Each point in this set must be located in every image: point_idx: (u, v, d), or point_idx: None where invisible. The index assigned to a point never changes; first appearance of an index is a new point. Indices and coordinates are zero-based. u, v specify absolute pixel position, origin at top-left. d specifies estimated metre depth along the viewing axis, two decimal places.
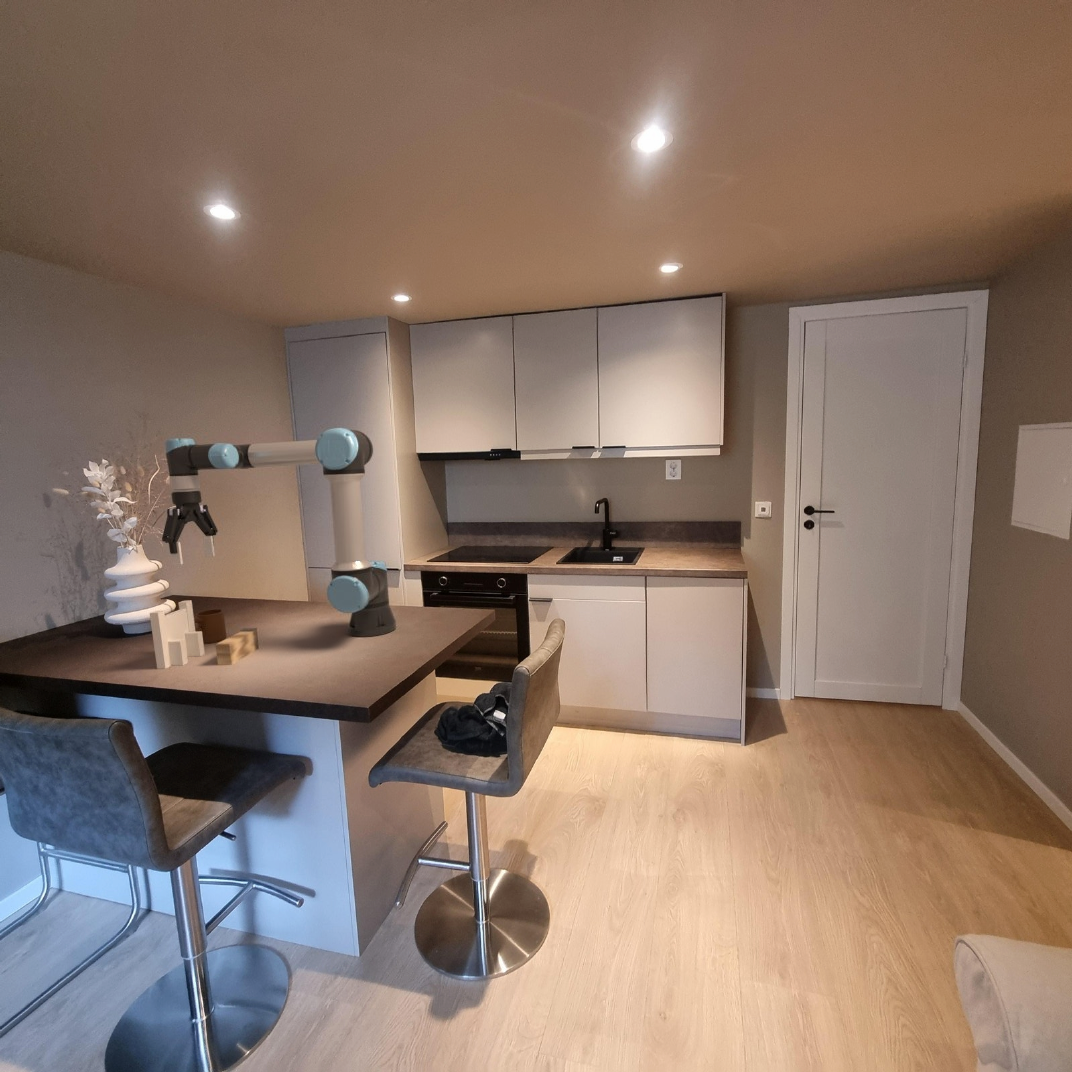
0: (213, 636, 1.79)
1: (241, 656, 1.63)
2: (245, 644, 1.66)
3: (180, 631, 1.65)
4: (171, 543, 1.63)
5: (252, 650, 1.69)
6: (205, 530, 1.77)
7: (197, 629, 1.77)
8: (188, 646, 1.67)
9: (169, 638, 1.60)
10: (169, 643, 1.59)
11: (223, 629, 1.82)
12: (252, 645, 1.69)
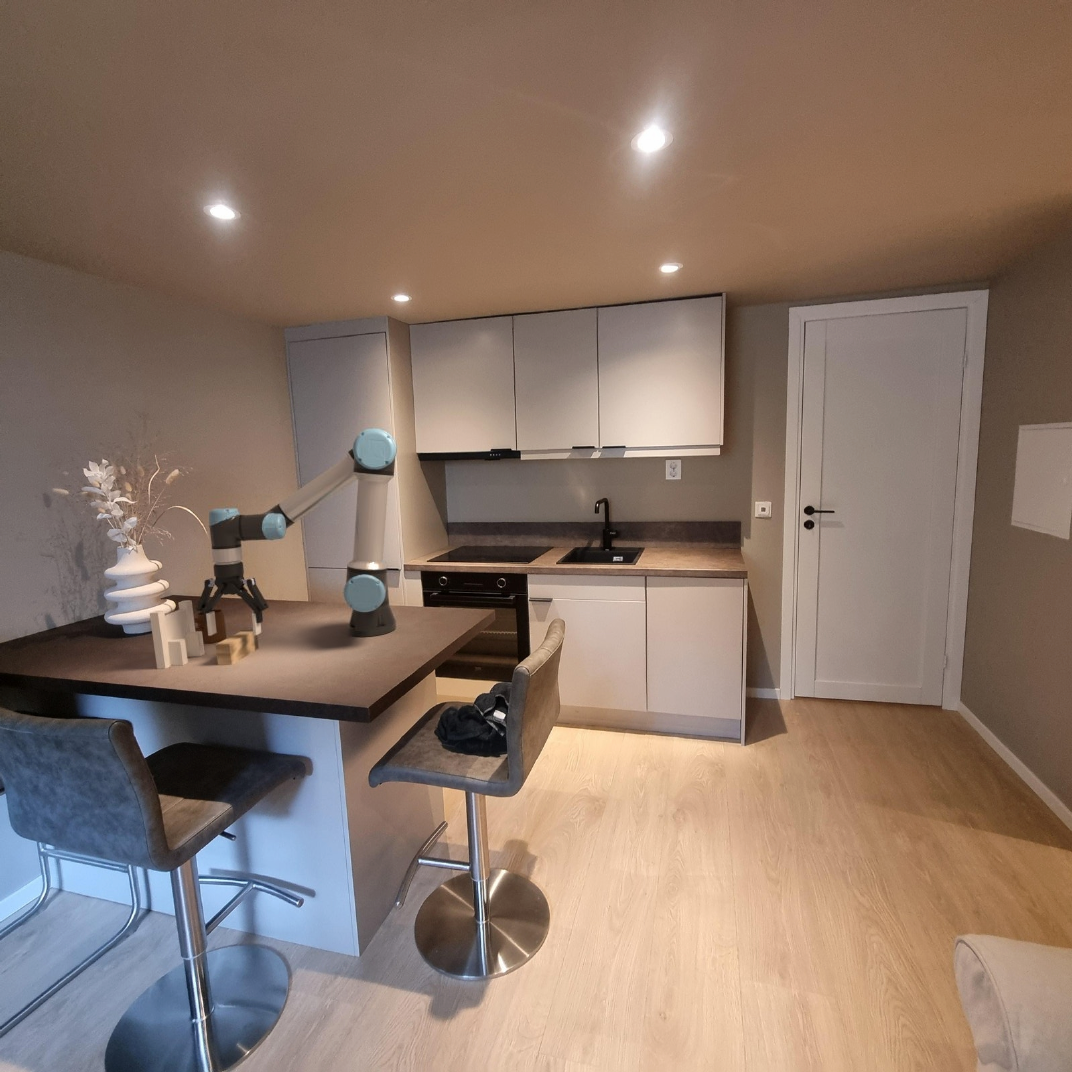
0: (213, 636, 1.79)
1: (241, 656, 1.63)
2: (245, 644, 1.66)
3: (180, 631, 1.65)
4: None
5: (252, 650, 1.69)
6: None
7: (197, 629, 1.77)
8: (188, 646, 1.67)
9: (169, 638, 1.60)
10: (169, 643, 1.59)
11: (223, 629, 1.82)
12: (252, 645, 1.69)
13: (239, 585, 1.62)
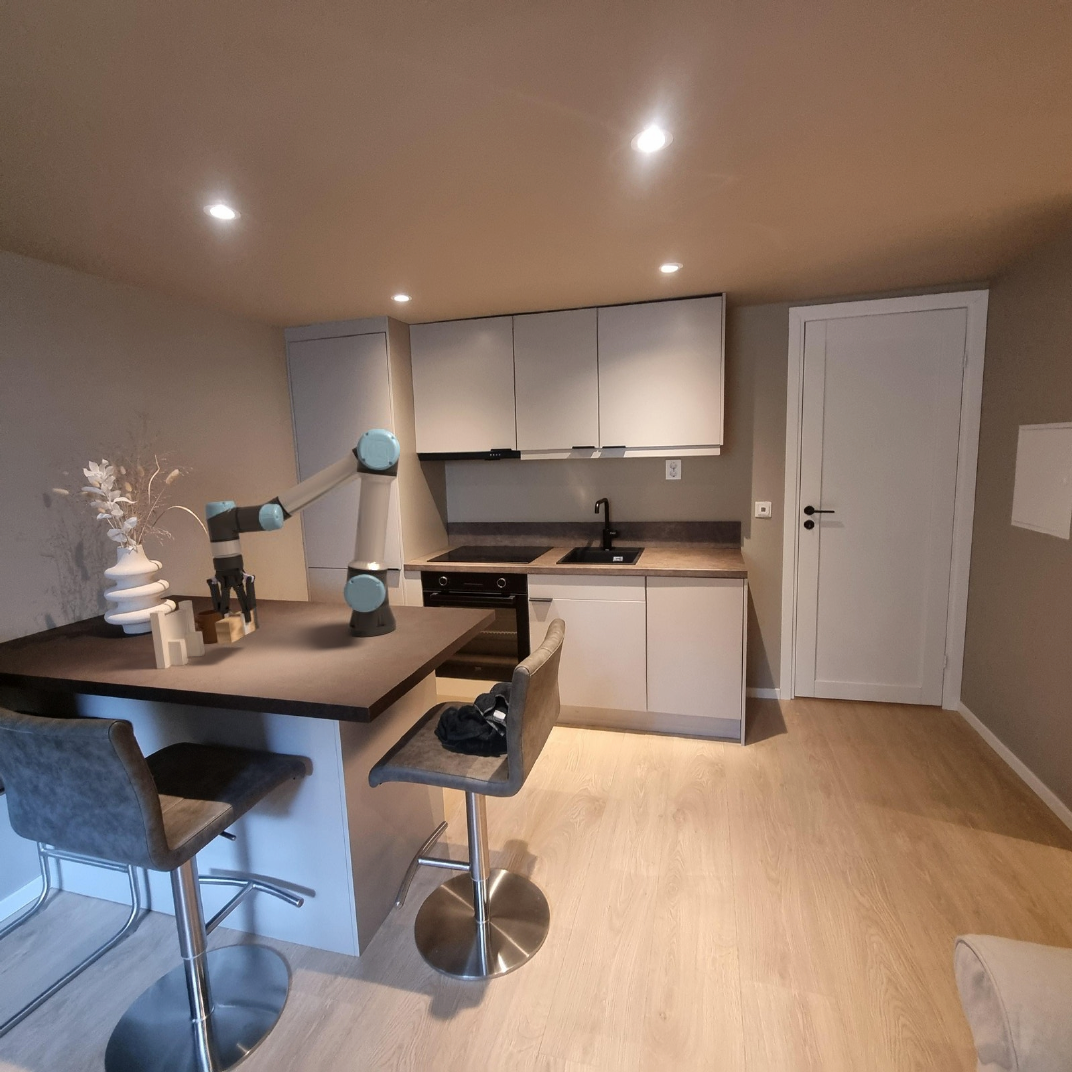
0: (213, 636, 1.79)
1: (241, 635, 1.63)
2: None
3: (180, 631, 1.65)
4: None
5: (252, 629, 1.68)
6: None
7: (197, 629, 1.77)
8: (188, 646, 1.67)
9: (169, 638, 1.60)
10: (169, 643, 1.59)
11: None
12: (252, 624, 1.68)
13: (239, 577, 1.61)
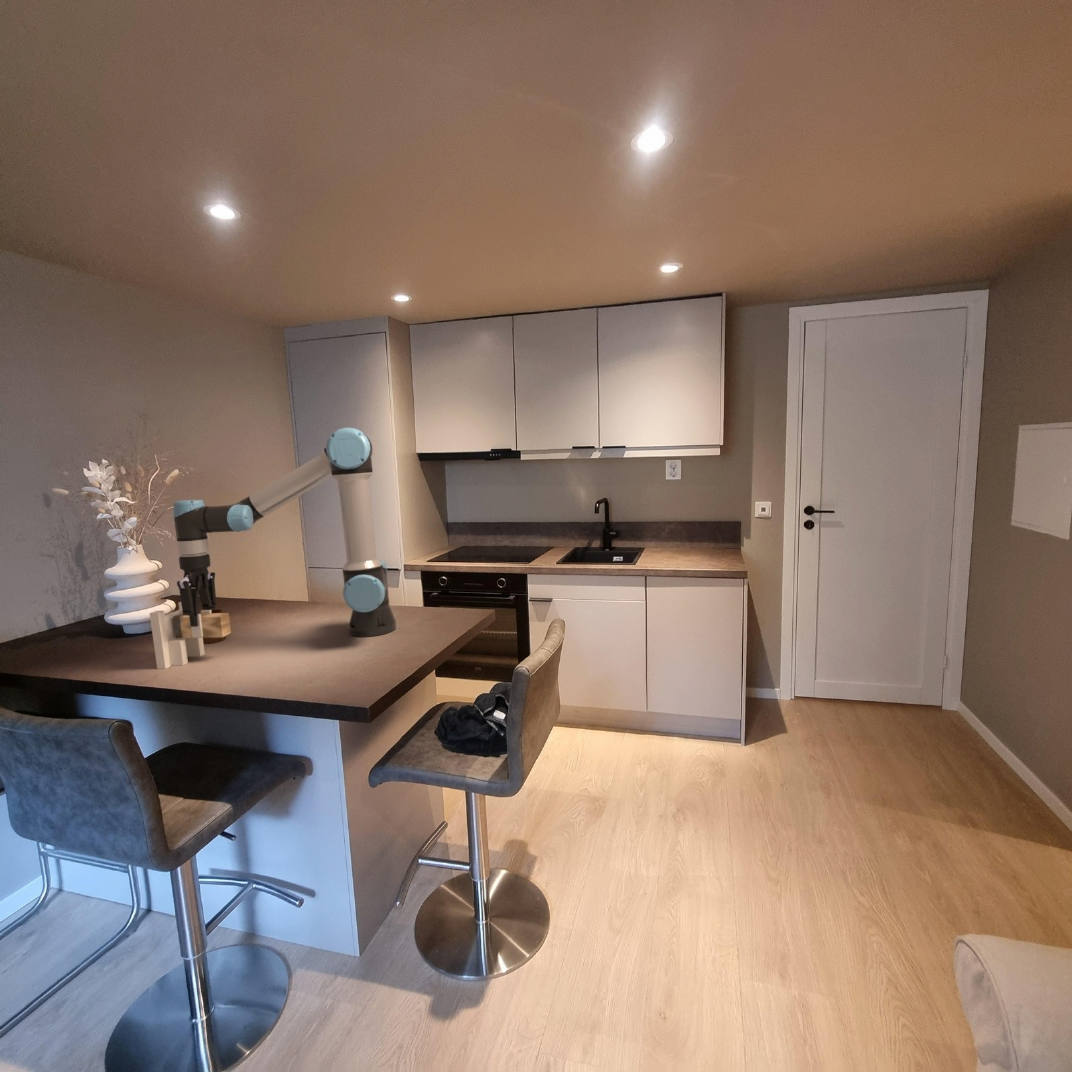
0: None
1: None
2: None
3: None
4: (192, 616, 1.58)
5: None
6: (205, 601, 1.64)
7: None
8: (188, 646, 1.67)
9: (169, 638, 1.60)
10: (169, 643, 1.59)
11: None
12: None
13: (207, 574, 1.64)
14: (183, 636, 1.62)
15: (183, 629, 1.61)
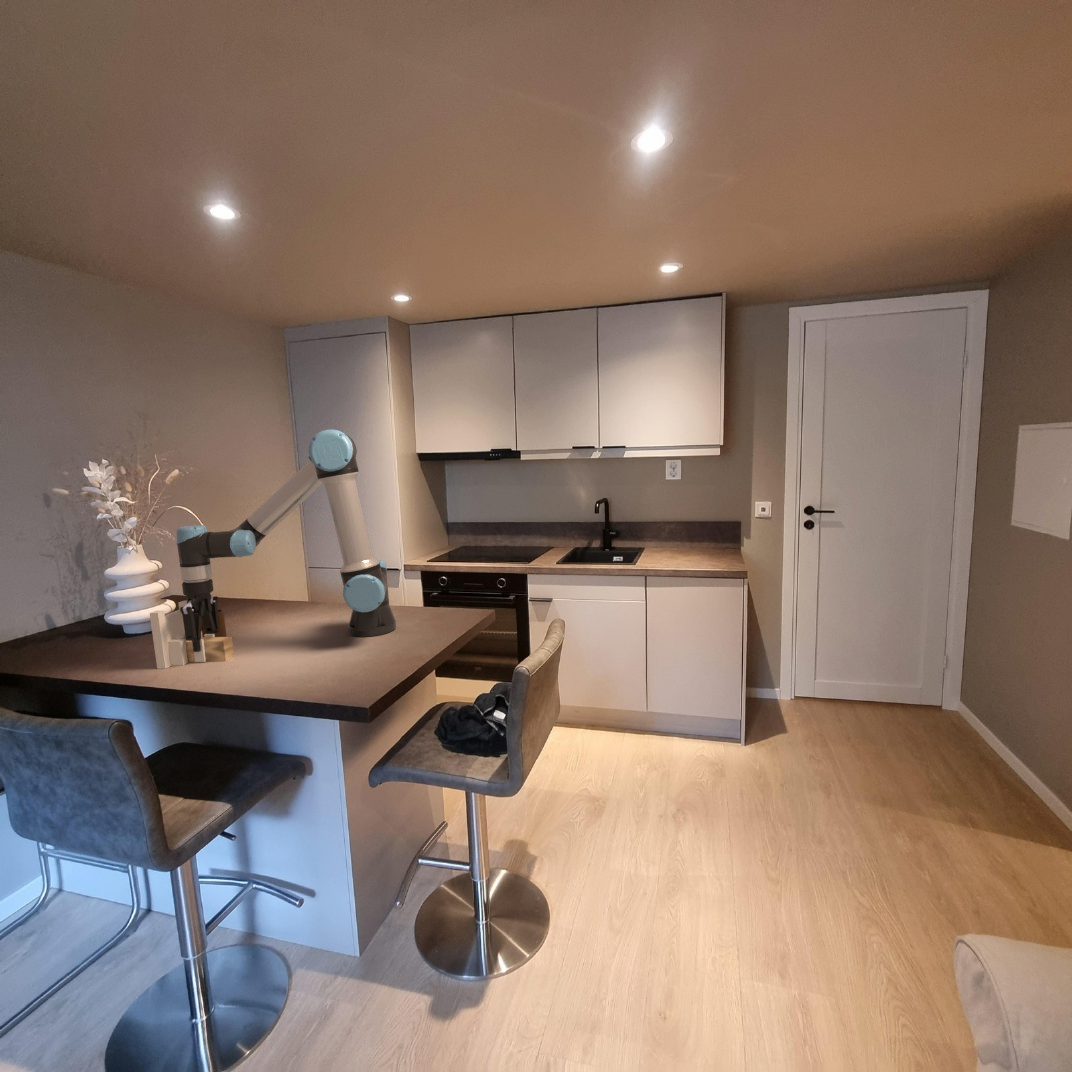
0: None
1: None
2: None
3: (180, 631, 1.65)
4: (195, 641, 1.59)
5: None
6: (208, 625, 1.65)
7: None
8: None
9: (169, 638, 1.60)
10: (169, 643, 1.59)
11: (223, 629, 1.82)
12: None
13: (210, 599, 1.65)
14: None
15: (187, 653, 1.62)
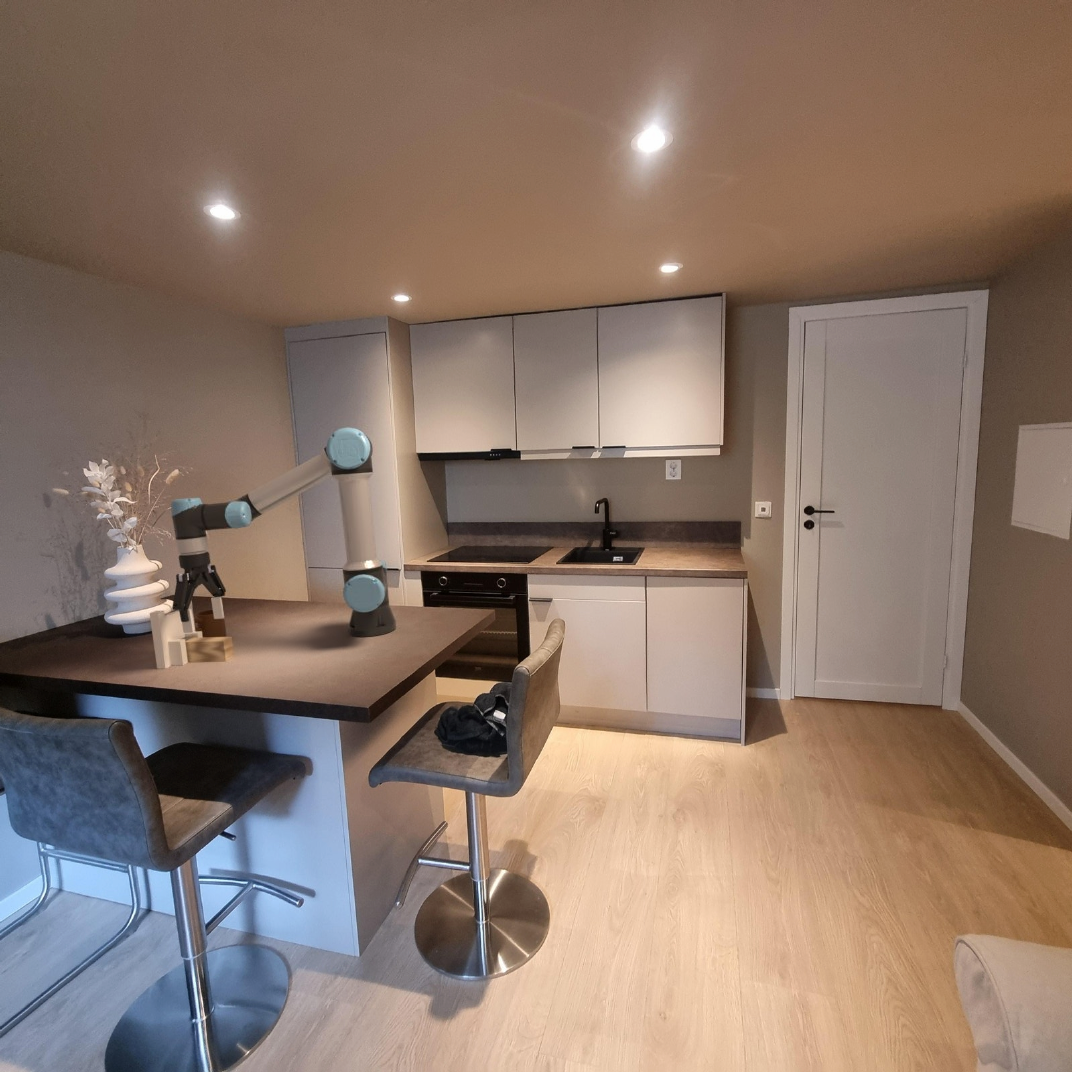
0: (213, 636, 1.79)
1: None
2: None
3: (180, 631, 1.65)
4: (182, 611, 1.54)
5: None
6: (213, 591, 1.68)
7: (197, 629, 1.77)
8: None
9: (169, 638, 1.60)
10: (169, 643, 1.59)
11: (223, 629, 1.82)
12: None
13: (208, 572, 1.64)
14: None
15: (187, 653, 1.62)
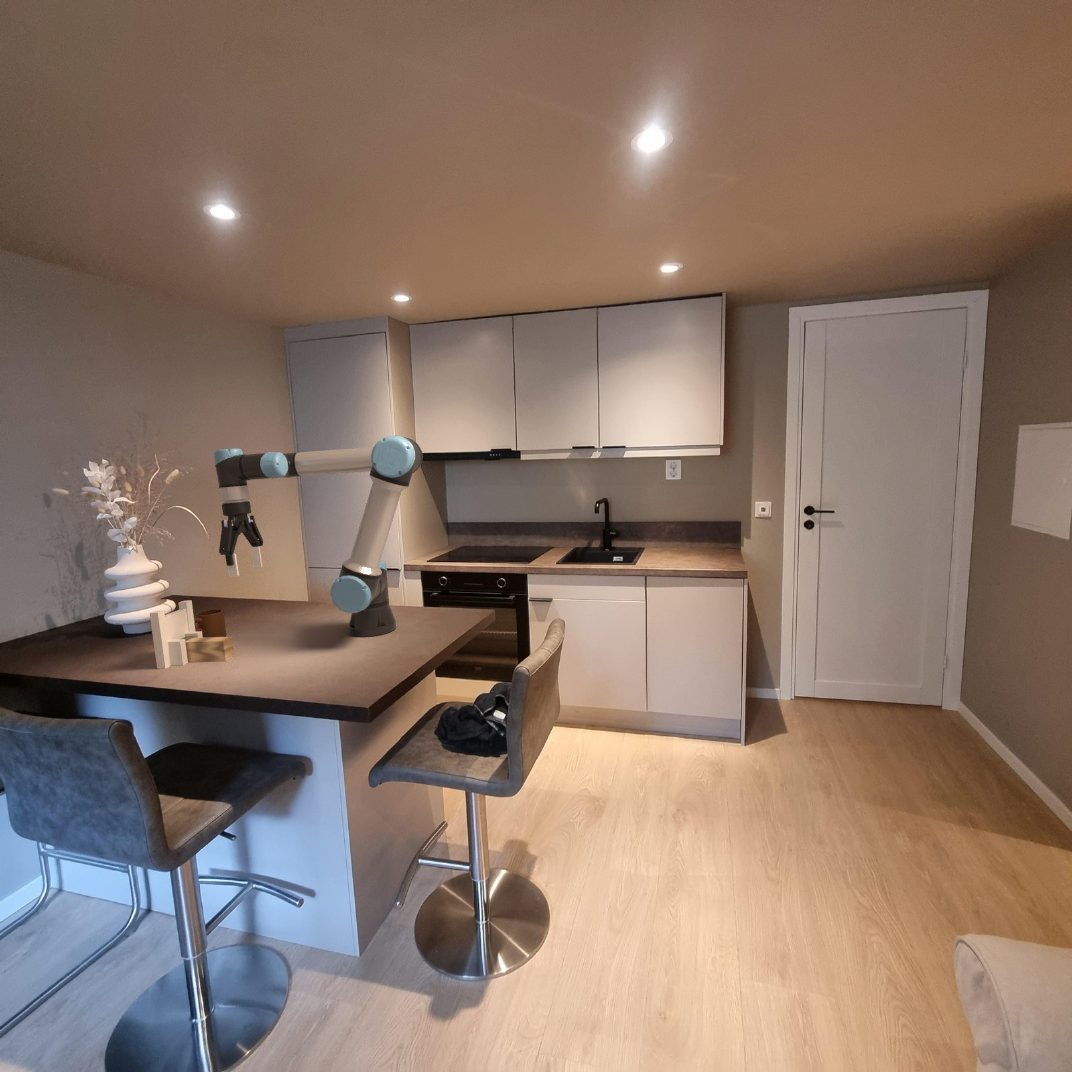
0: (213, 636, 1.79)
1: None
2: None
3: (180, 631, 1.65)
4: (228, 555, 1.61)
5: None
6: (252, 541, 1.75)
7: (197, 629, 1.77)
8: None
9: (169, 638, 1.60)
10: (169, 643, 1.59)
11: (223, 629, 1.82)
12: None
13: None
14: None
15: (187, 653, 1.62)
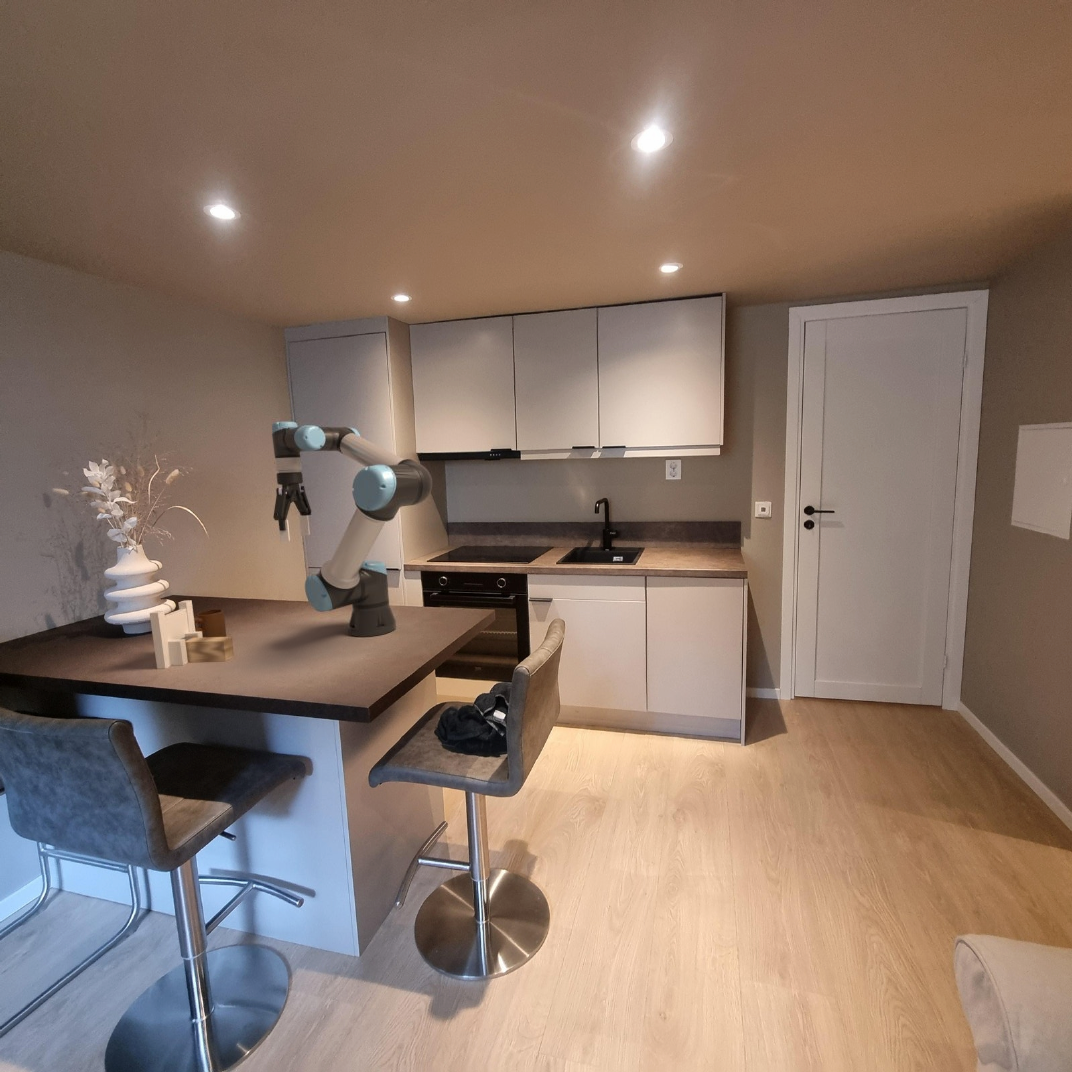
0: (213, 636, 1.79)
1: None
2: None
3: (180, 631, 1.65)
4: (281, 521, 1.73)
5: None
6: (302, 510, 1.86)
7: (197, 629, 1.77)
8: None
9: (169, 638, 1.60)
10: (169, 643, 1.59)
11: (223, 629, 1.82)
12: None
13: None
14: None
15: (187, 653, 1.62)
